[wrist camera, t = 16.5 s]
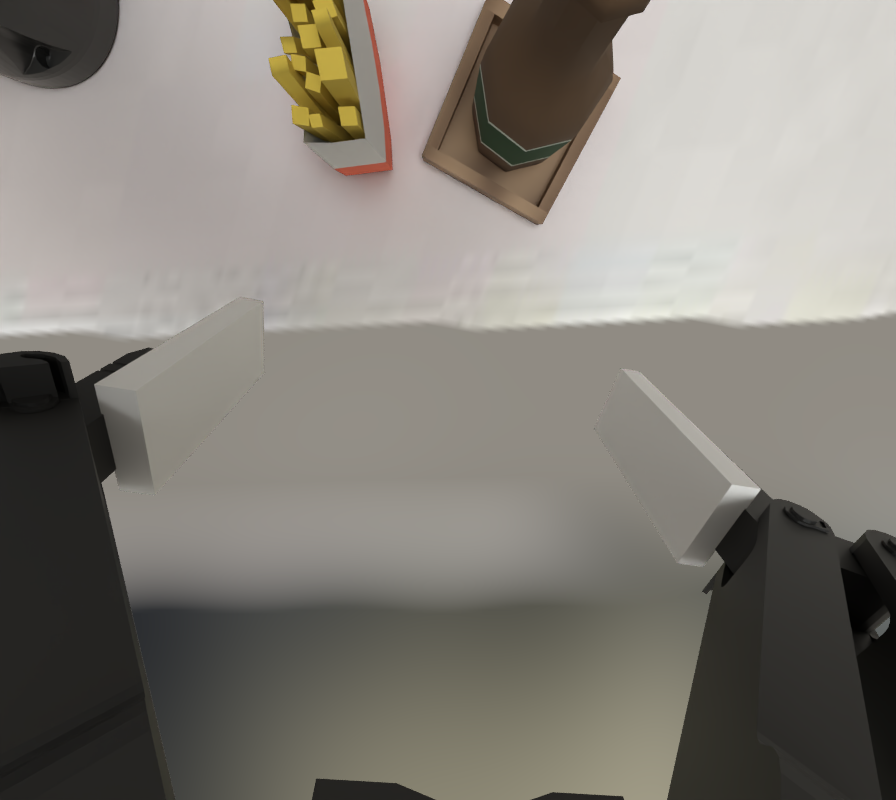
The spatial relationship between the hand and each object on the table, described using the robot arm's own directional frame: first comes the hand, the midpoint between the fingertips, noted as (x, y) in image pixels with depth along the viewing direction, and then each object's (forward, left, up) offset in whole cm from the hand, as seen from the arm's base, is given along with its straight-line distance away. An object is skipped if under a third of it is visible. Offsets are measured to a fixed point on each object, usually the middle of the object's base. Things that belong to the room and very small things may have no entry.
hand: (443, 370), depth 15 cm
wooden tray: (-1, +15, -28) cm, 32 cm away
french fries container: (-13, +10, -28) cm, 33 cm away
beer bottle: (-1, +15, -27) cm, 31 cm away
